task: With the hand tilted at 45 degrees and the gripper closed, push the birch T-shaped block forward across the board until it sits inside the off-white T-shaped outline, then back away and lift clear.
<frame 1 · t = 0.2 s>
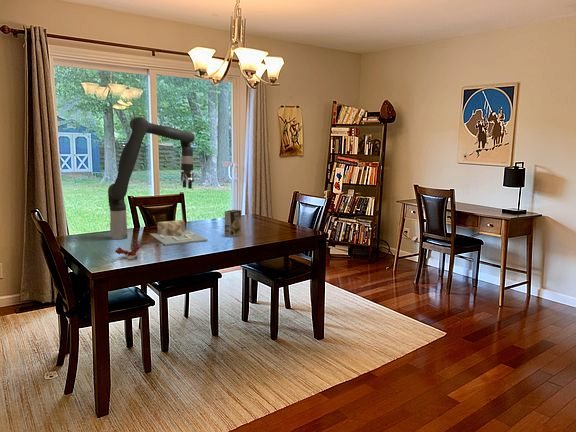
hand: (187, 188, 295), 29 cm above the table, tool pointing down, fingers open, 8 cm apart
t block: (173, 234, 285), point 1 cm above the table, touching target board
target board: (177, 238, 278), on the table
coffee box: (233, 235, 288), on the table
figurine: (130, 258, 232), on the table
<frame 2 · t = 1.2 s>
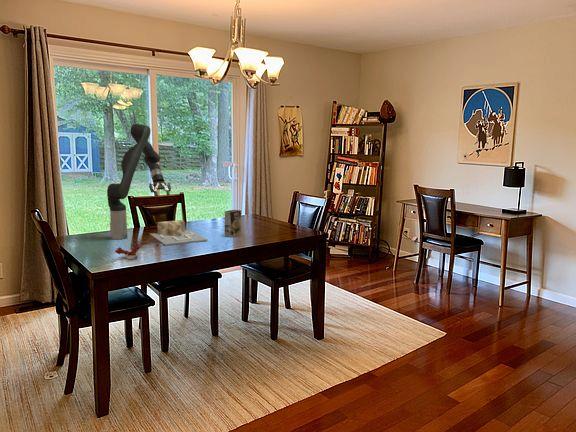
hand: (162, 196, 299), 22 cm above the table, tool tilted 45°, fingers open, 7 cm apart
nothing on the table moved.
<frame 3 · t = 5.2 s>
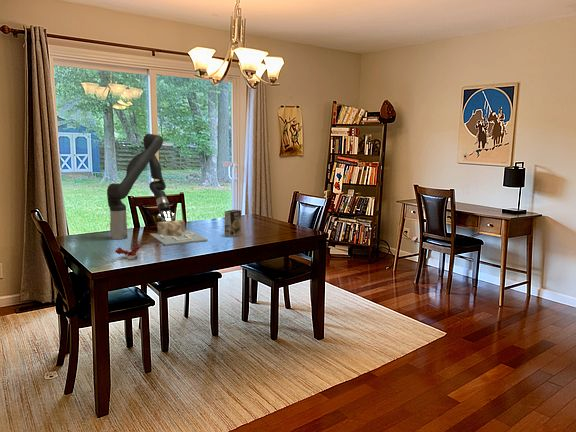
hand: (169, 226, 291), 4 cm above the table, tool tilted 45°, fingers closed
t block: (173, 234, 285), point 1 cm above the table, touching gripper
everything else where it was.
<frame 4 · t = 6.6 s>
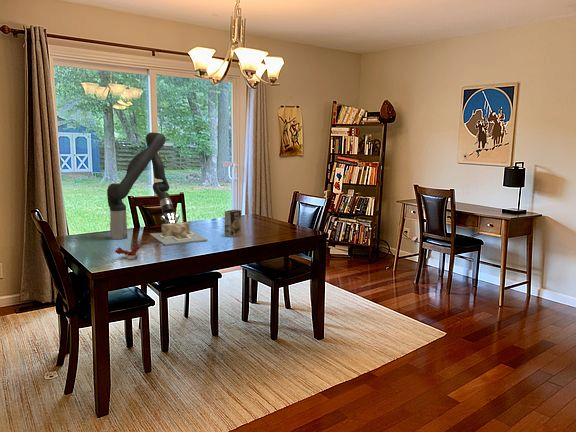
hand: (173, 228, 285), 4 cm above the table, tool tilted 45°, fingers closed
t block: (178, 236, 279), point 1 cm above the table, touching target board
everything else where it was.
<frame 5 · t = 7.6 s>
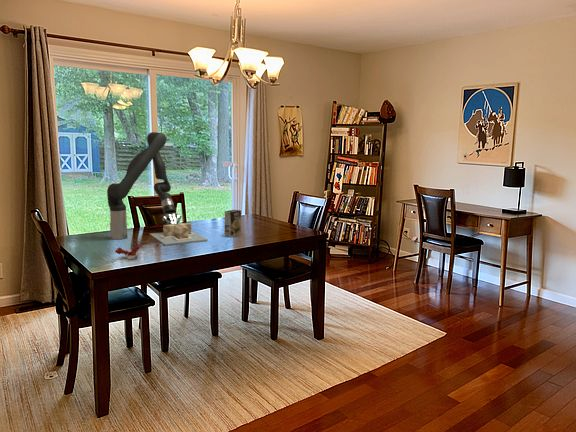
hand: (175, 229, 282), 4 cm above the table, tool tilted 45°, fingers closed
t block: (180, 237, 276), point 1 cm above the table, touching gripper, target board
everything else where it was.
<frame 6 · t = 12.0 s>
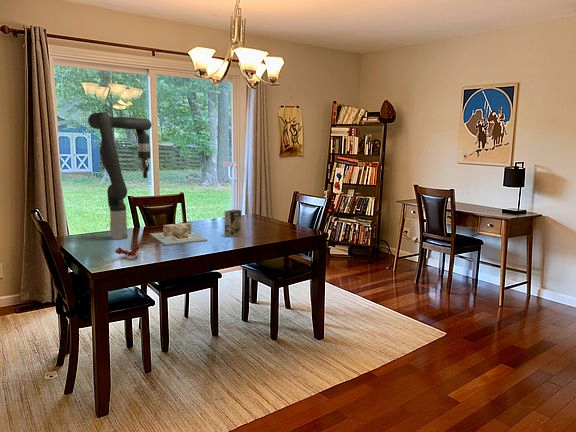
hand: (145, 177, 291), 35 cm above the table, tool pointing down, fingers closed
t block: (180, 237, 276), point 1 cm above the table, touching target board
everything else where it was.
at the end: t block 0.5 cm from the target spot on the target board, point 1.0 cm above the target board's base; t block tilted 0° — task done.
